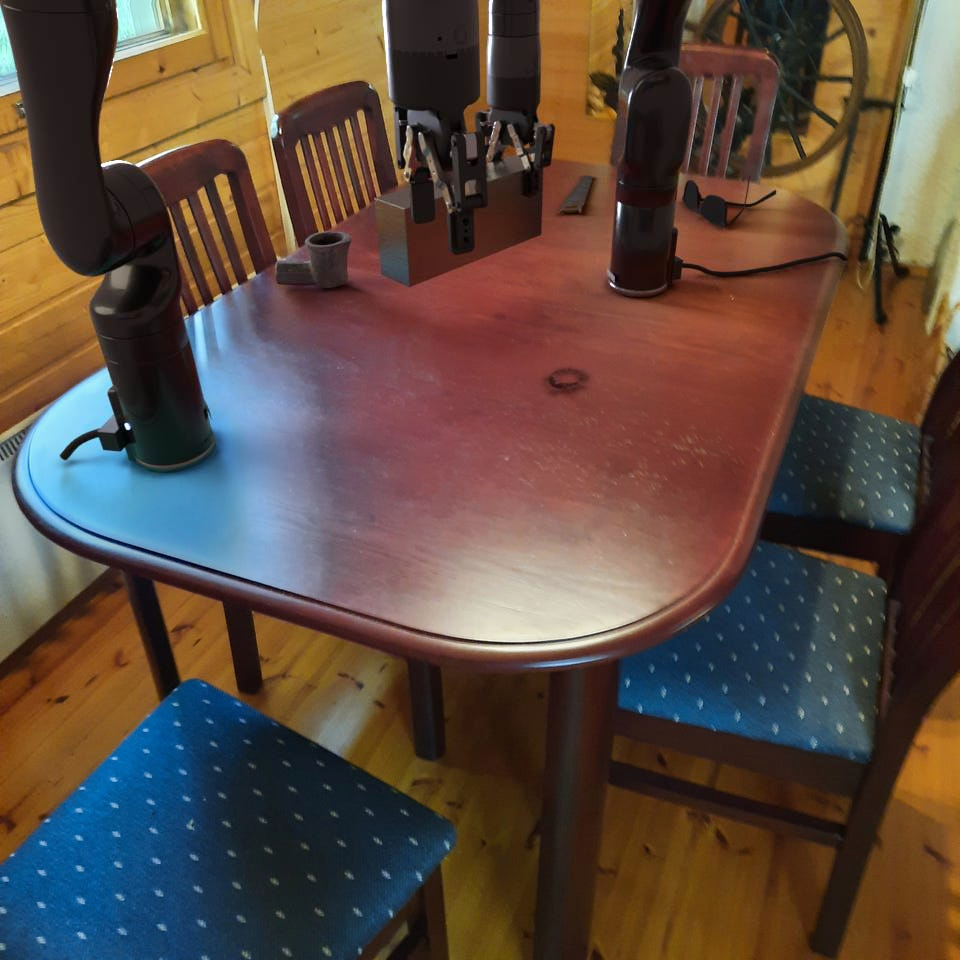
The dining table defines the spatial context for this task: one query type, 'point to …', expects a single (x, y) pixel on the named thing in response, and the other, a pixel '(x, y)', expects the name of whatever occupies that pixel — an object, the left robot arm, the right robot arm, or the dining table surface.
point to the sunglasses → (714, 204)
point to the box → (425, 246)
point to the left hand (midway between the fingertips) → (442, 236)
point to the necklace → (562, 383)
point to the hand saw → (577, 197)
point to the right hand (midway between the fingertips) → (513, 190)
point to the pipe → (318, 262)
